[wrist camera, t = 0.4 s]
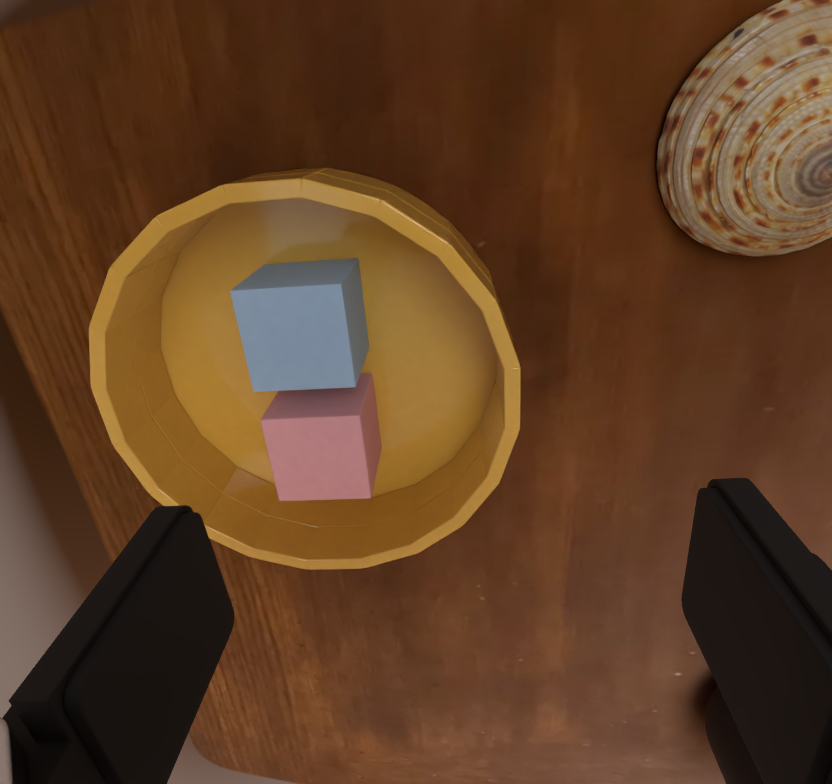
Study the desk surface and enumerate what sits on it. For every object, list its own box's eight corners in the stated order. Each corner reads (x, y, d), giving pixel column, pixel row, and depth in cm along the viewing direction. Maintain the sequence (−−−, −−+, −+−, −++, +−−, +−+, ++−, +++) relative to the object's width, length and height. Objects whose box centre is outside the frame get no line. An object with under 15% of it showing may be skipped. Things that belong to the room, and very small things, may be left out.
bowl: (105, 184, 22) (19, 200, 18) (506, 152, 21) (522, 160, 16) (204, 504, 29) (160, 573, 25) (508, 495, 28) (519, 566, 24)
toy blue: (263, 264, 23) (229, 290, 19) (358, 257, 22) (341, 283, 19) (281, 353, 25) (252, 392, 21) (369, 348, 24) (355, 387, 21)
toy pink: (286, 377, 25) (259, 419, 21) (372, 372, 25) (359, 415, 21) (301, 451, 27) (278, 502, 23) (382, 447, 26) (371, 499, 23)
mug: (822, 740, 35) (905, 876, 29) (679, 733, 36) (728, 866, 29) (892, 605, 30) (1012, 736, 24) (722, 599, 30) (795, 726, 24)
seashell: (1017, 133, 18) (849, 300, 17) (844, 167, 23) (713, 295, 23) (930, -116, 15) (731, 72, 15) (759, -13, 21) (609, 127, 20)
